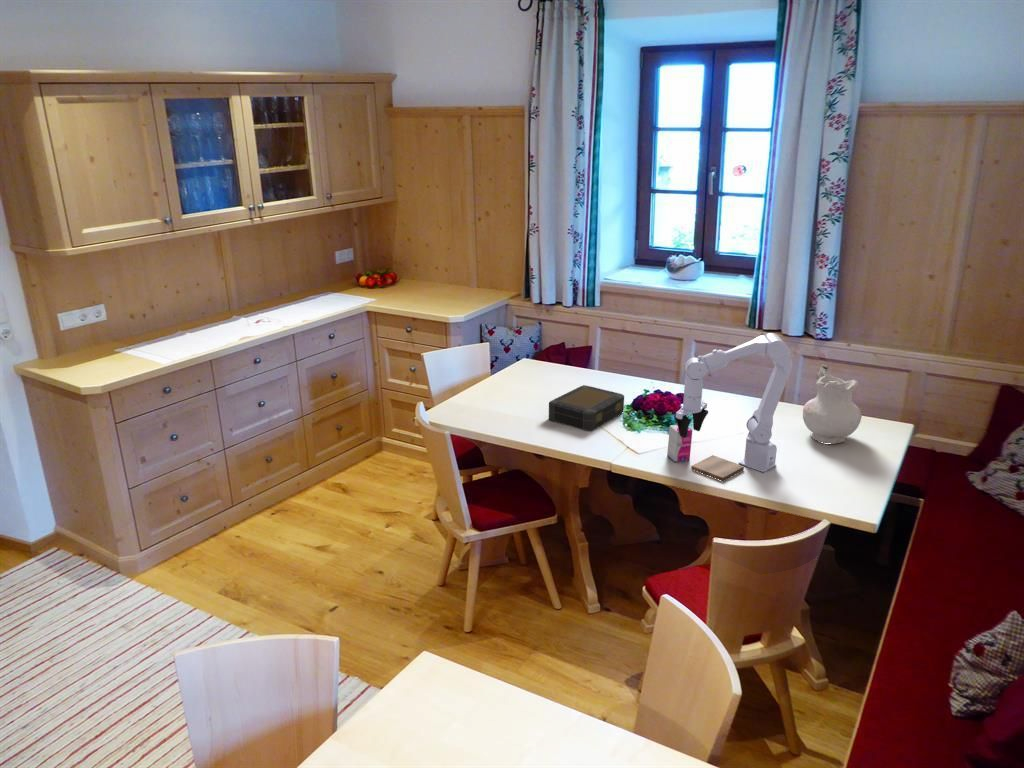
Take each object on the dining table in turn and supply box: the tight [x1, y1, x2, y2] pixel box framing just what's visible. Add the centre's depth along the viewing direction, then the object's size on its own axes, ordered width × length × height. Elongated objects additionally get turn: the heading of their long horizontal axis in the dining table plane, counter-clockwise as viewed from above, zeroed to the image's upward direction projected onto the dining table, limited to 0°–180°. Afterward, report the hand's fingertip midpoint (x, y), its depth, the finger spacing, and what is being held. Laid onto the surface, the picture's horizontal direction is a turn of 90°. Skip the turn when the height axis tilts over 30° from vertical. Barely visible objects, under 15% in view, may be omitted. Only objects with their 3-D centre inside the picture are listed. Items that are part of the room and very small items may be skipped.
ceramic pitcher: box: [802, 363, 863, 445], centre depth 279 cm, size 22×20×25 cm
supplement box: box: [666, 424, 693, 463], centre depth 264 cm, size 6×6×12 cm
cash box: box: [548, 384, 625, 432], centre depth 302 cm, size 25×20×8 cm
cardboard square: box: [690, 454, 745, 482], centre depth 258 cm, size 12×12×2 cm
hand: (689, 433), depth 260 cm, fingers open, 7 cm apart
